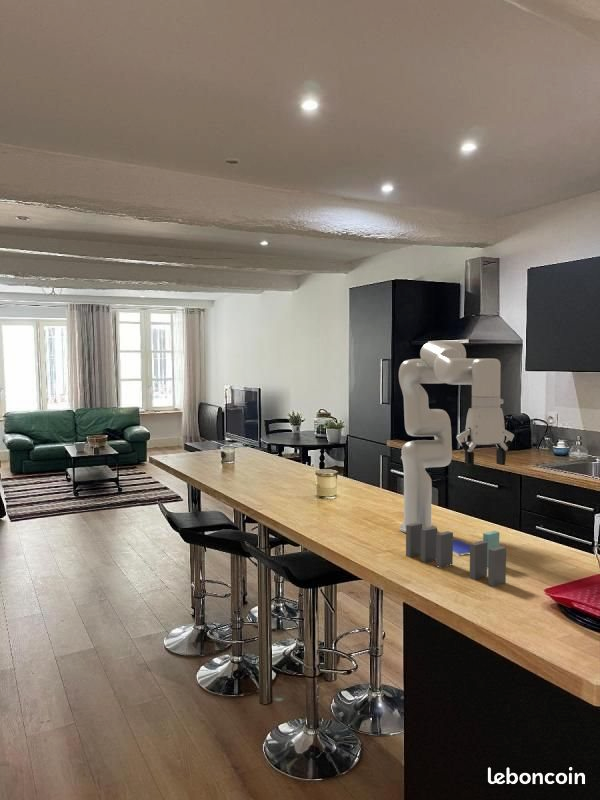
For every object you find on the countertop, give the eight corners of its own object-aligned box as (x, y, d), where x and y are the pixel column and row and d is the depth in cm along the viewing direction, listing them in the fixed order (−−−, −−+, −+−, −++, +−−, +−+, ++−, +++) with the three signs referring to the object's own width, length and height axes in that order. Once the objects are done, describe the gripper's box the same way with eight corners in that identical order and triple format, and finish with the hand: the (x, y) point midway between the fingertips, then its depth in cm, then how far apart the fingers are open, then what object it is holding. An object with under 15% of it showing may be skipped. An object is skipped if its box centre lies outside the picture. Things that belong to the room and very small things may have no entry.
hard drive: (437, 541, 196) (458, 552, 184) (458, 539, 199) (481, 550, 187) (436, 546, 196) (458, 557, 184) (458, 543, 199) (481, 555, 187)
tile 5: (469, 578, 164) (470, 543, 164) (481, 574, 167) (481, 540, 167) (474, 580, 163) (475, 545, 163) (486, 576, 166) (487, 542, 165)
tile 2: (420, 561, 179) (420, 529, 179) (432, 558, 182) (432, 526, 182) (425, 562, 178) (425, 530, 177) (436, 559, 181) (437, 528, 180)
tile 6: (487, 584, 160) (488, 549, 159) (499, 580, 162) (500, 545, 162) (493, 586, 158) (494, 550, 158) (505, 582, 161) (506, 547, 160)
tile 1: (405, 555, 184) (406, 525, 184) (417, 553, 187) (417, 522, 186) (410, 557, 183) (410, 526, 182) (421, 554, 185) (422, 523, 185)
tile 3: (435, 566, 174) (436, 533, 174) (447, 563, 177) (448, 531, 177) (440, 568, 173) (441, 535, 172) (452, 564, 176) (453, 532, 175)
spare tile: (482, 566, 175) (483, 533, 174) (493, 562, 178) (494, 530, 177) (487, 567, 173) (488, 534, 173) (498, 564, 176) (499, 532, 176)
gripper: (505, 402, 173) (504, 462, 174) (450, 403, 169) (450, 464, 169) (521, 403, 166) (520, 465, 167) (464, 404, 161) (464, 468, 162)
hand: (485, 465), depth 168 cm, fingers open, 9 cm apart
